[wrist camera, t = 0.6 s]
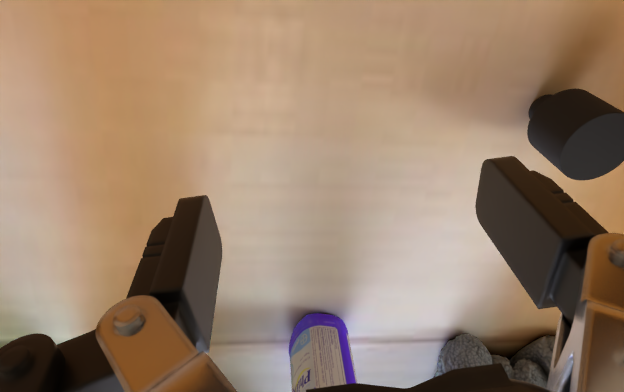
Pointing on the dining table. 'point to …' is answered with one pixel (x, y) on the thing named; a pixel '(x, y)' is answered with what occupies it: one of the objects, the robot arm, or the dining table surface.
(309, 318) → the bottle
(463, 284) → the dining table surface
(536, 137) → the cylinder
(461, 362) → the koala plush
